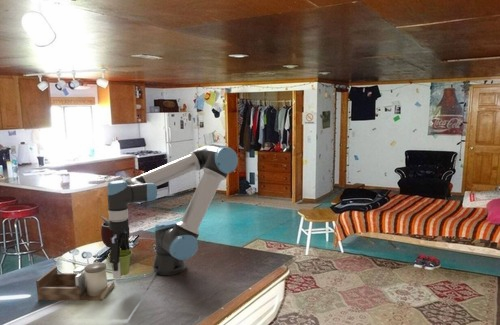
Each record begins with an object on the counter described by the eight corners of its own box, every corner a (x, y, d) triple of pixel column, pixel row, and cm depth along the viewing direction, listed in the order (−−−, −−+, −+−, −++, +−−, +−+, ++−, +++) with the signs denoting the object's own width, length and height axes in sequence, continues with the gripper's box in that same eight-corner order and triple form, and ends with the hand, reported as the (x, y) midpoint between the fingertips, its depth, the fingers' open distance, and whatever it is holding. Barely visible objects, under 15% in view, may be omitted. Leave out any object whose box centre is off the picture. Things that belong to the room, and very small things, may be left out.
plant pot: (125, 279, 158) (125, 258, 156) (104, 277, 159) (103, 256, 158) (137, 270, 167) (136, 250, 165) (116, 268, 169) (115, 248, 167)
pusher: (91, 285, 171) (90, 263, 169) (79, 297, 159) (77, 274, 158) (83, 284, 171) (82, 263, 169) (70, 297, 160) (68, 274, 158)
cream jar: (110, 287, 169) (109, 262, 168) (103, 296, 161) (101, 270, 160) (91, 287, 170) (90, 262, 168) (83, 296, 161) (81, 270, 160)
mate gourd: (135, 251, 213) (133, 215, 210) (119, 260, 200) (117, 222, 197) (111, 248, 218) (109, 212, 215) (94, 257, 205) (91, 219, 202)
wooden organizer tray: (115, 286, 172) (114, 267, 170) (102, 302, 158) (100, 281, 157) (56, 286, 173) (54, 266, 172) (38, 302, 159) (36, 280, 158)
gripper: (118, 212, 170) (121, 262, 174) (98, 227, 150) (101, 284, 153) (136, 212, 170) (138, 263, 173) (118, 227, 149) (120, 284, 152)
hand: (121, 272), depth 163 cm, fingers closed on plant pot, 8 cm apart
